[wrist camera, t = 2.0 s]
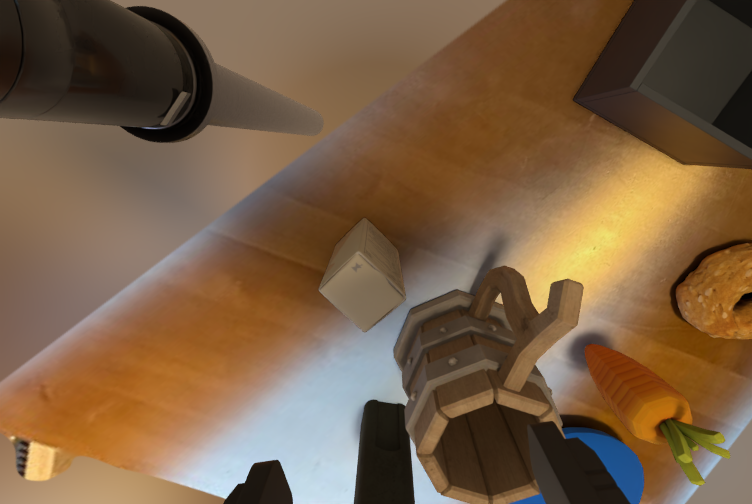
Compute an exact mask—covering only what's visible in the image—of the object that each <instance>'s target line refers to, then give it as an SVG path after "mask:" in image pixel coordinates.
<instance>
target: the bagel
mask: <svg viewBox="0 0 752 504" xmlns="http://www.w3.org/2000/svg"><path fill="white" fill-rule="evenodd" d="M750 292H752V243H750V244H748V243H745V244H740V245H735V246H732V247H729V248H727V249H724V250H720V251H718V252H716V253H713V254H711V255H709V256H707V257H706V258H704V259H703V260H702V262H701V263H700V265H699V266H698V267H697V269H696V270H695V271H693V272H691V273H689V275H688V276H687V277H686V279H685V281H684V282H682V283H681V284H679V285H678V286H677V289H676V299H677V302H678V307H679V309H680V312H681V314H682V317H683V318H684V319H685V320H686V321H688V322H689V323H690V324H692V325H693V326H694V327H695V328H697V329H699V330H700V331H702V332H704V333H707V334H708V335H710V336H711V337H714V338H716V337H723V338H726V339H729V338H733V339H752V298H751V299H746V300H740V298H741V296H743V294H747V293H750Z"/></svg>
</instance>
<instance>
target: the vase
mask: <svg viewBox="0 0 752 504" xmlns="http://www.w3.org/2000/svg"><path fill="white" fill-rule="evenodd" d="M562 431H563V433H564V436H565V438H566V439H569V438H576V437H578V438H579V439H580V440H581V441H583V442H584V443H585V444H587V445H588V446H589V447H590V448H592V449H593V450H594V451H595V452H596V454H597V455H598V457H599V458H600V460H601V461H602V462H603V464H604V465H605V467H606V468H607V471H608V472H609V473H610V474H611V476H612V477H613V479H614V480H615V482H616V483H617V486H618V487H619V488H620V489H621V490H622V492H623V493H624V495H625V496H626V498H627V499H628V501H629V502H630V504H639V502H640V499H641V496H642V492H643V488H644V474H643V467H642V465H641V463H640V461H639V459H638V457H637V455H636V454H635V453H634V452H633V451H632V450H631V449H630V448H629V447H627V446H626V445H625V444H624V443H622V442H621V441H619V440H618V439H616V438H615V437H613V436H611V435H609V434H607V433H605V432H603V431H599V430H595V429H590V428H586V427H567V428H562ZM539 490H540V489H539ZM509 504H546V503H545V501H544V498H543V496H542V494H541V492H540V494H538V495H535V496H531V497H528V498H525V499H522V500H519V501H516V502H512V503H509Z"/></svg>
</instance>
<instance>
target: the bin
mask: <svg viewBox="0 0 752 504" xmlns="http://www.w3.org/2000/svg"><path fill="white" fill-rule="evenodd" d="M573 100H574V101H575V102H577V103H579V104H580V105H582V106H584V107H586V108H587V109H589V110H591V111H593V112H594V113H596V114H598V115H599V116H601V117H603V118H605V119H606V120H608V121H610V122H611V123H613V124H615V125H617V126H618V127H620V128H622V129H623V130H625V131H627V132H629V133H630V134H632V135H634V136H635V137H637V138H639V139H641V140H642V141H644V142H646V143H647V144H649V145H651V146H653V147H654V148H656V149H658V150H660V151H661V152H663V153H665V154H666V155H668V156H670V157H672V158H673V159H675V160H677V161H678V162H680V163H682V164H687V165H700V166H715V167H729V168H744V169H752V0H635V1H634V2H633V4H632V6H631V7H630V9H629V10H628V12H627V14H626V15H625V17H624V19H623V20H622V22H621V23H620V25H619V27H618V28H617V30H616V31H615V33H614V35H613V36H612V38H611V39H610V41H609V43H608V44H607V46H606V47H605V49H604V51H603V52H602V54H601V55H600V57H599V59H598V60H597V62H596V63H595V65H594V67H593V68H592V70H591V71H590V73H589V75H588V76H587V78H586V79H585V81H584V83H583V84H582V86H581V88H580V89H579V91H578V92H577V94H576V96H575V97H574V99H573Z"/></svg>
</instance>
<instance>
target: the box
mask: <svg viewBox="0 0 752 504" xmlns="http://www.w3.org/2000/svg"><path fill="white" fill-rule="evenodd" d="M319 291H320V293H321V294H323V295H324V296H325V297H326V298H327V299H328V300H329V301H330V302H331V303H332V304H333V305H334V306H335V307H336V308H337V309H338V310H339V311H341V312H342V313H343V314H344V315H345V316H346V317H347V318H348V319H350V320H351V321H352V322H353V323H354V324H355V325H356V326H357V327H359V328H360V329H361V330H362V331H363V332H367V331H368V330H369V329H371V328H372V327H373V326H375V325H376V324H377V323H378V322H380V321H381V320H382V319H383V318H385V317H386V316H387V315H388V314H390V313H391V312H392V311H393V310H394V309H396V308H397V307H398V306H399V305H400V304H402V303H403V302H404V301H405V300H406V294H405V288H404V283H403V277H402V271H401V265H400V259H399V253H398V250H397V249H396V248H395V247H394V246H393V244H392V243H391V242H390V241H389V240H388V239H387V238H386V237H385V236H384V235H383V234H382V233H381V232H380V231H379V230H378V229H377V228H376V227H375V226H374V225H373V224H372V223H371V222H369V221H368V220H367V219H366V218H363V219H362V220H361V221H360V222H359V223H358V224H356V225H355V226H354V227H353V228H352V229H351V230H350V231H349V232H348V233H347V234H346V235H345V236H344V237H343V238H342V239H341V240H340V241H339V242H338V243H337V244H336V246H335V249H334V251H333V254H332V256H331V259H330V261H329V264H328V266H327V269H326V271H325V274H324V276H323V279H322V282H321V284H320V287H319Z"/></svg>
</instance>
